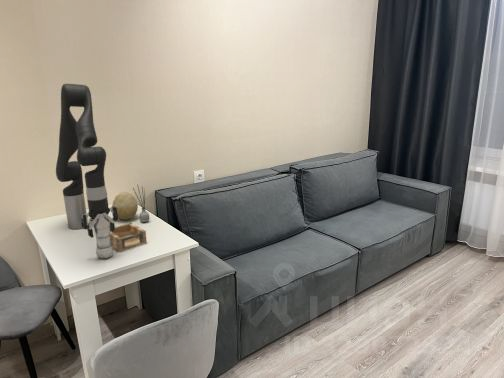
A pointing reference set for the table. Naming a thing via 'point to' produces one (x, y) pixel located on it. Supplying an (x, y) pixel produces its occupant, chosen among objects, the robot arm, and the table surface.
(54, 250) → the table surface
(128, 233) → the caddy
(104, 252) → the metal bottle
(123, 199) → the fossilized egg
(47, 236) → the table surface
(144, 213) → the reed diffuser
